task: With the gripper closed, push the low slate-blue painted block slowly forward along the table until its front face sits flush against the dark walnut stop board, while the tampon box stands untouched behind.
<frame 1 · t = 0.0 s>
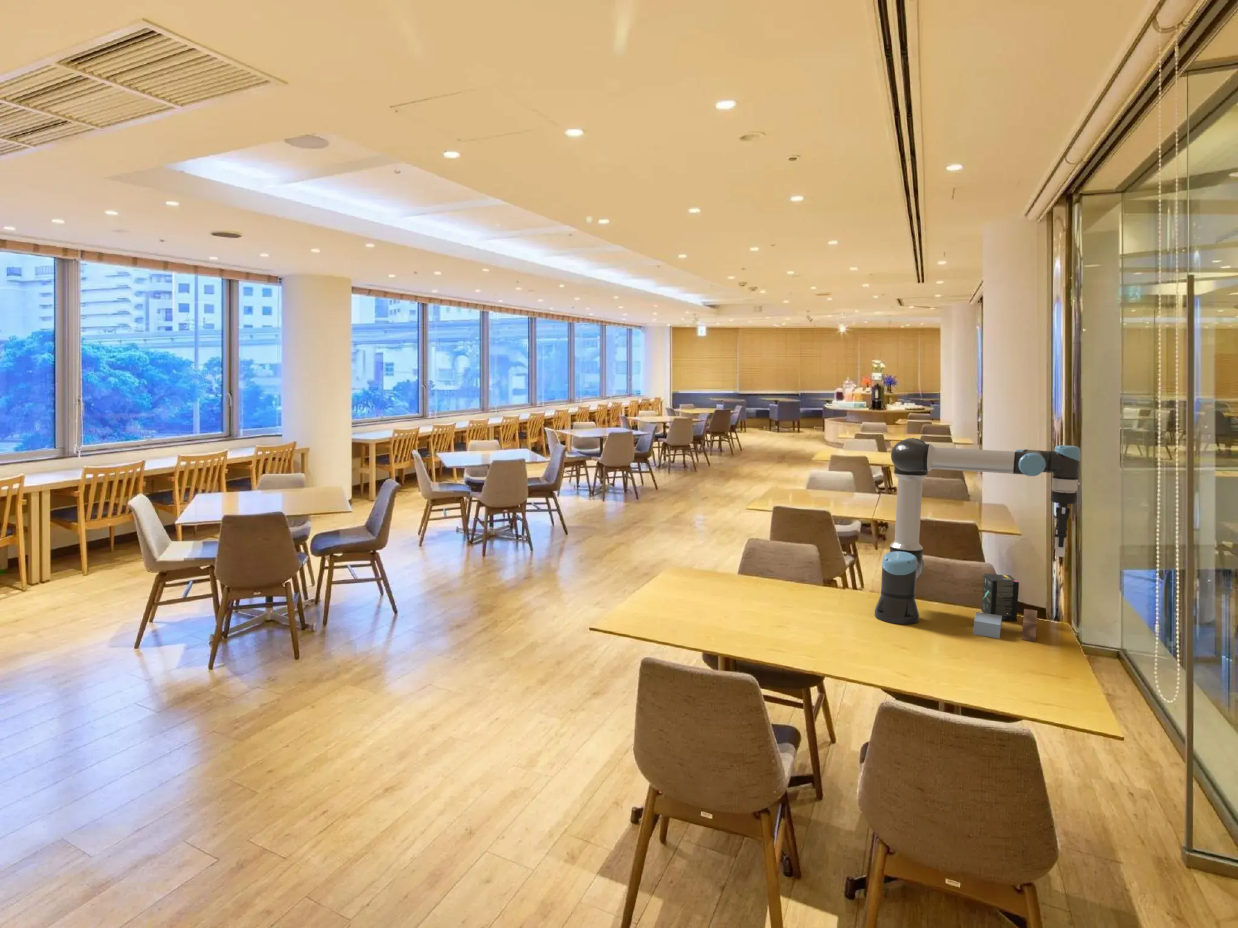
hand: (1059, 552, 250), 28 cm above the table, fingers open, 13 cm apart
block: (987, 632, 252), on the table
tampon box: (998, 616, 270), on the table
walnut board: (1028, 633, 251), on the table
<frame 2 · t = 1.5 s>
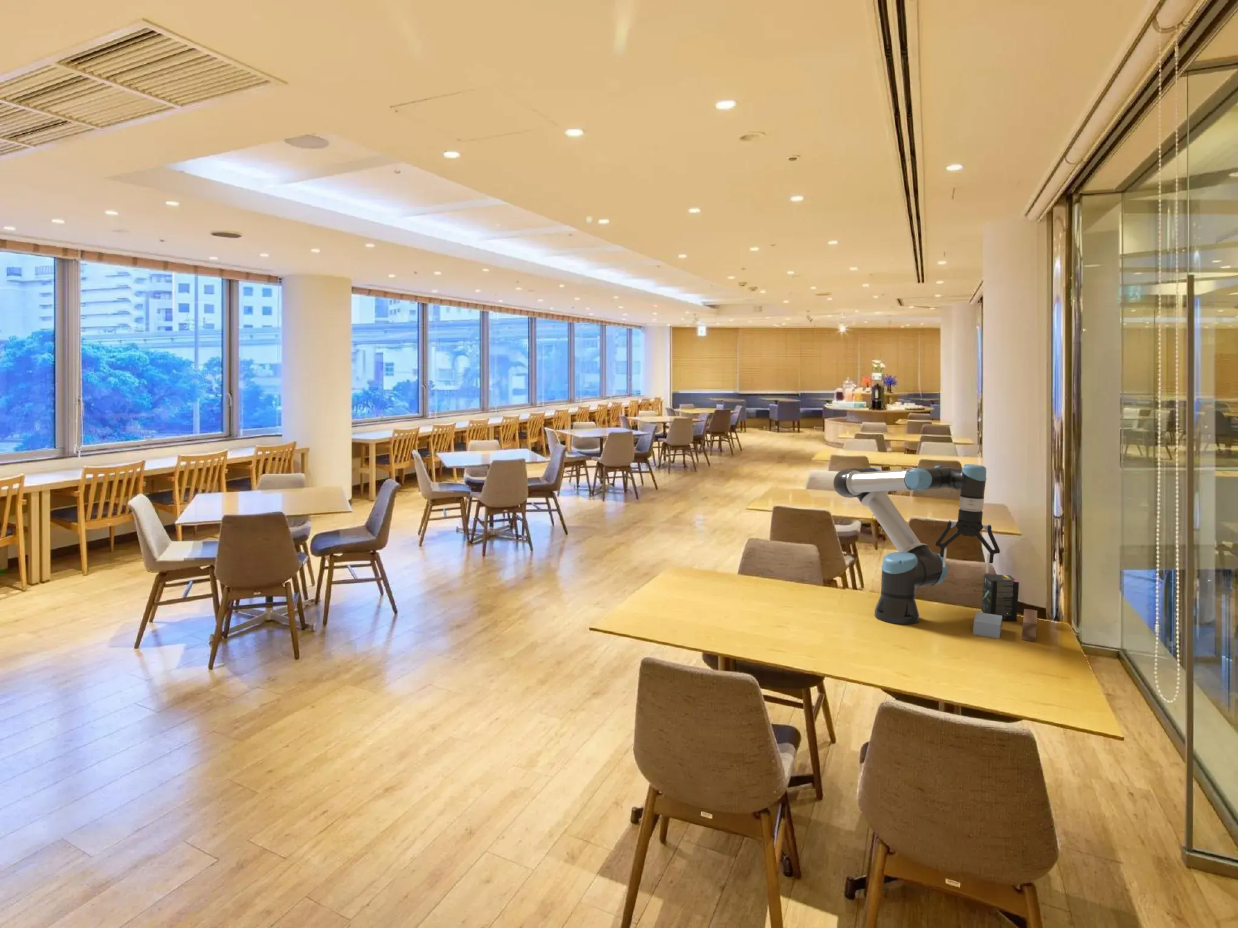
hand: (965, 569, 255), 21 cm above the table, fingers open, 13 cm apart
nothing on the table moved.
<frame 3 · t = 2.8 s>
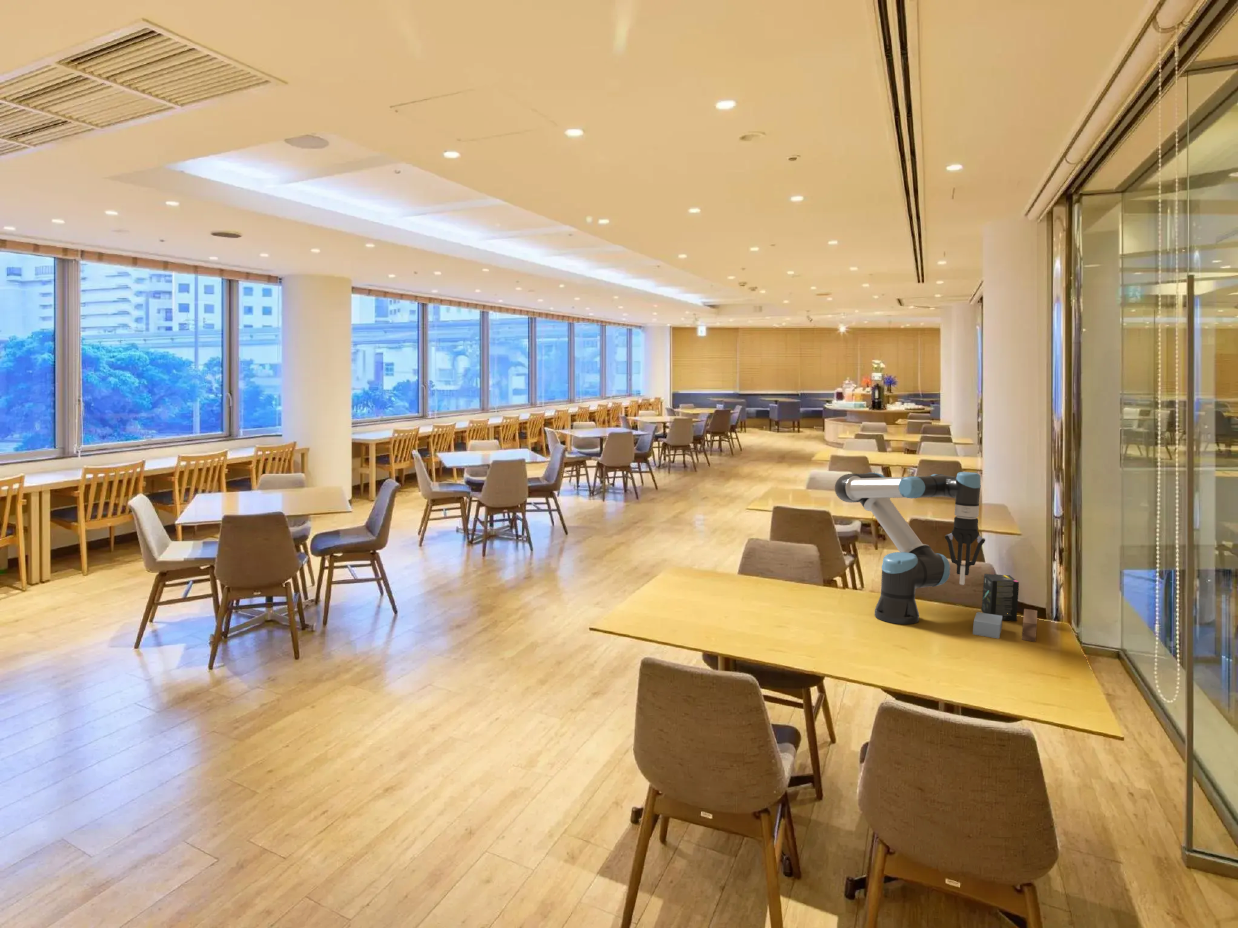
hand: (962, 583, 255), 16 cm above the table, fingers closed
nothing on the table moved.
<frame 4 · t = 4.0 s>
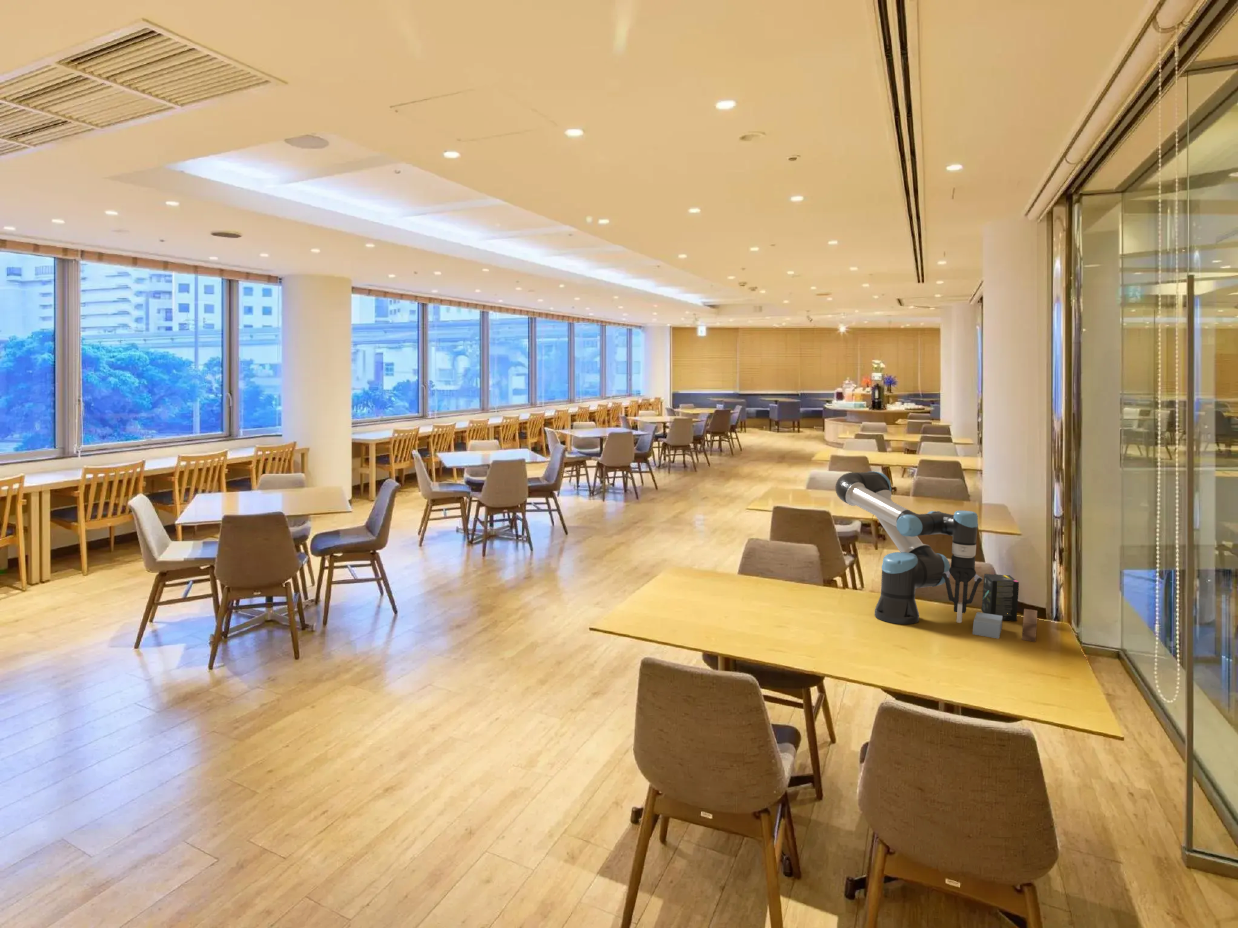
hand: (959, 621, 256), 2 cm above the table, fingers closed
nothing on the table moved.
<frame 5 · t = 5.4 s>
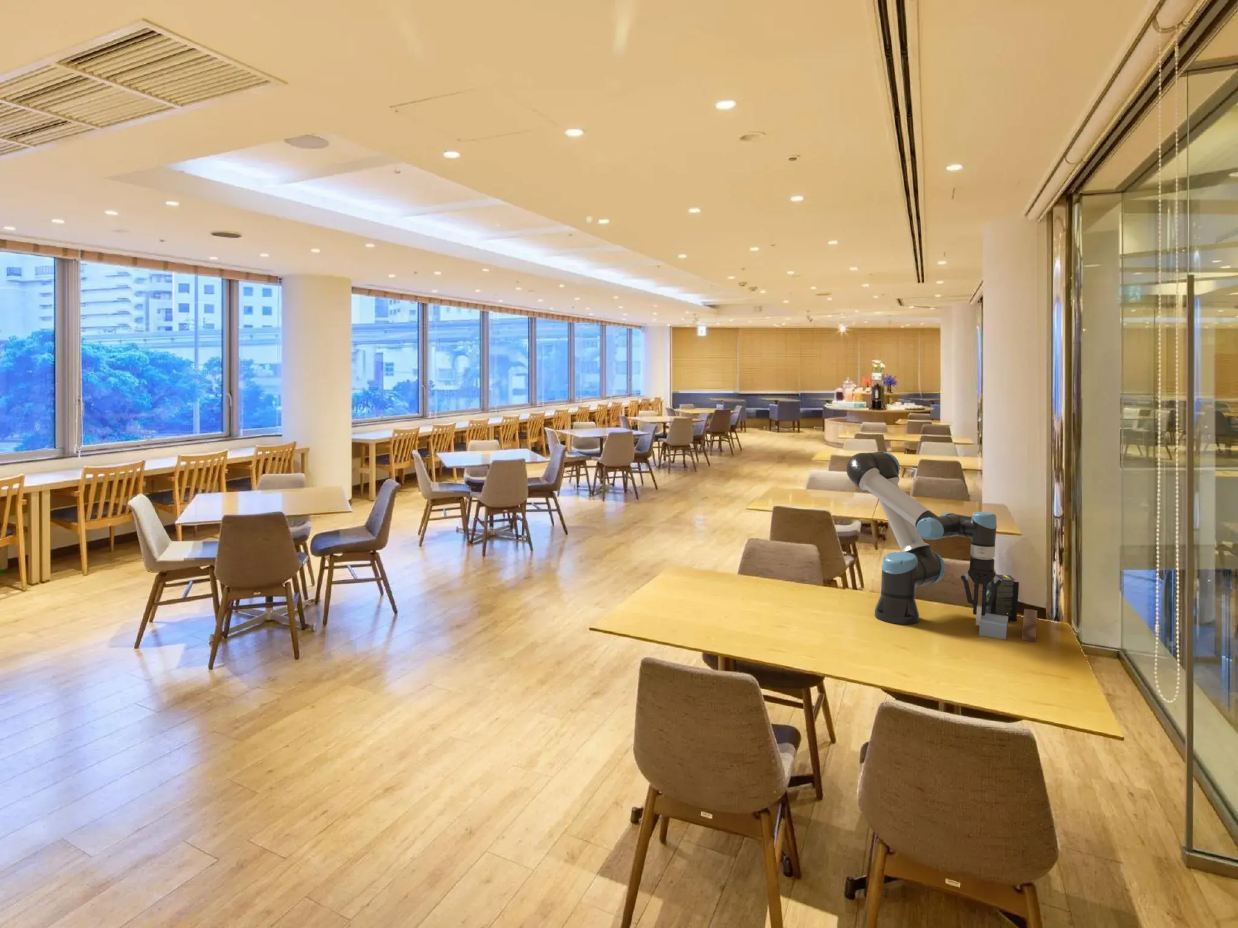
hand: (978, 624, 253), 2 cm above the table, fingers closed
block: (993, 633, 251), on the table, touching gripper
everything else where it was.
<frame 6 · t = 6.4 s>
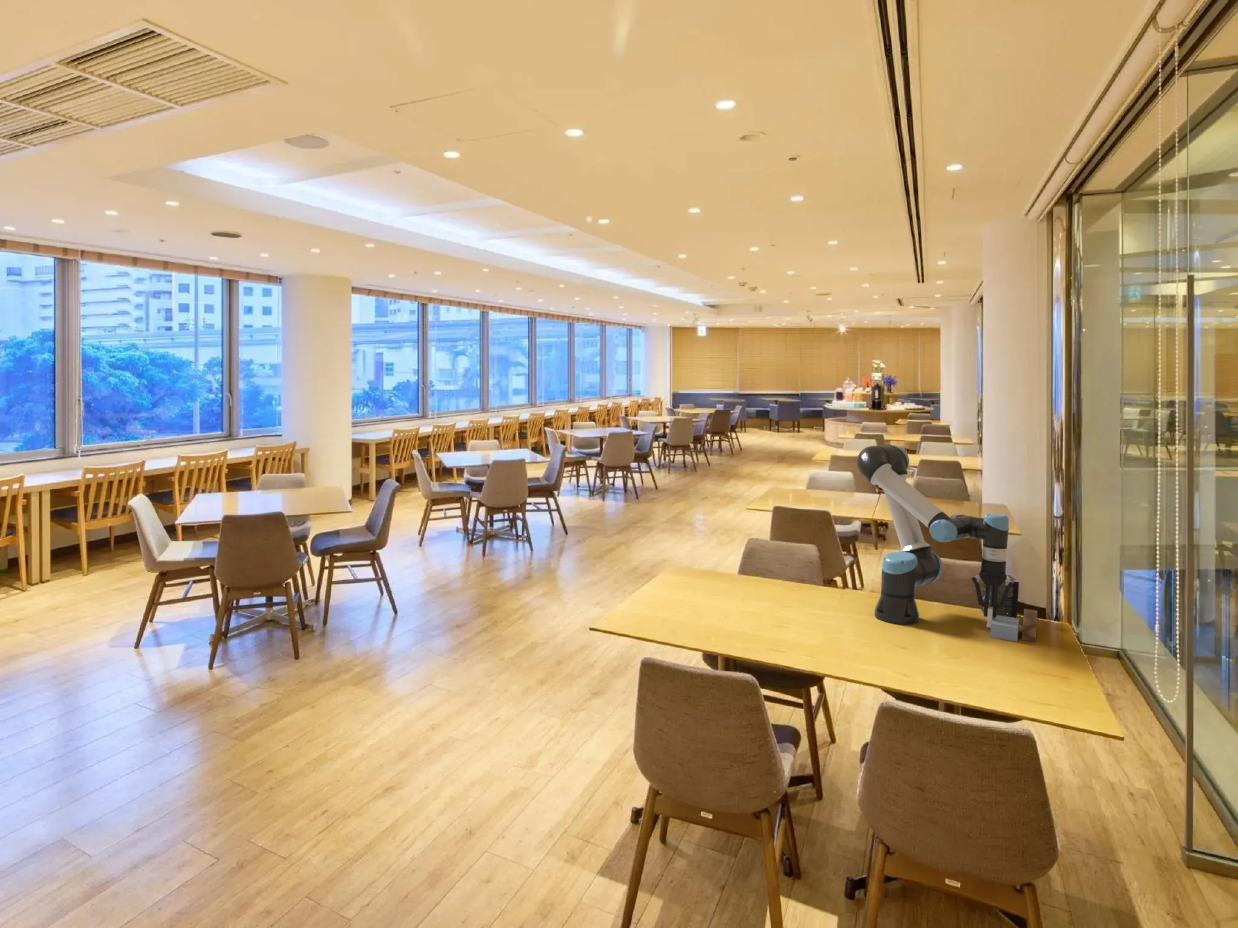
hand: (989, 626, 252), 2 cm above the table, fingers closed
block: (1004, 635, 249), on the table
everything else where it was.
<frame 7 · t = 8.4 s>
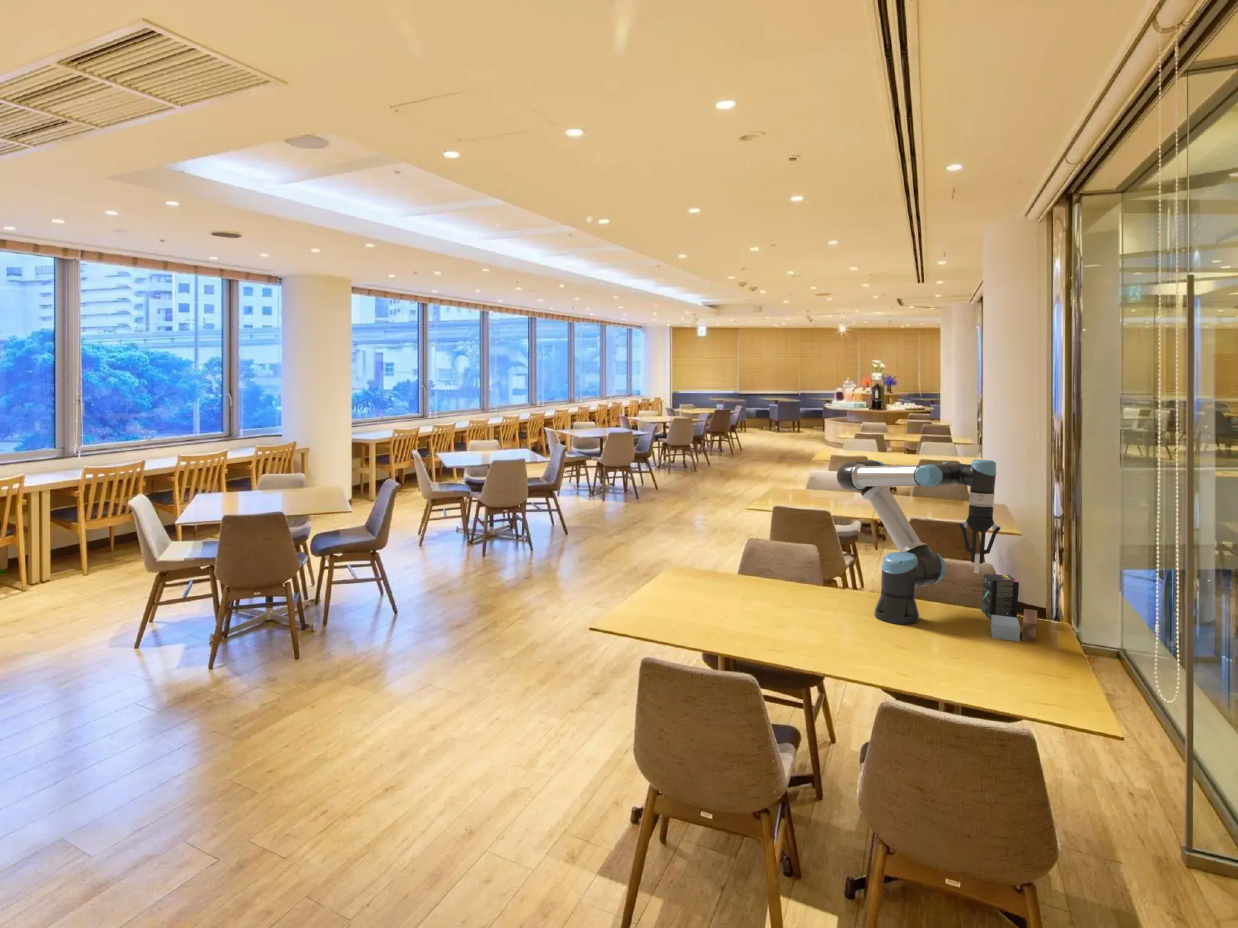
hand: (976, 572, 252), 20 cm above the table, fingers closed
nothing on the table moved.
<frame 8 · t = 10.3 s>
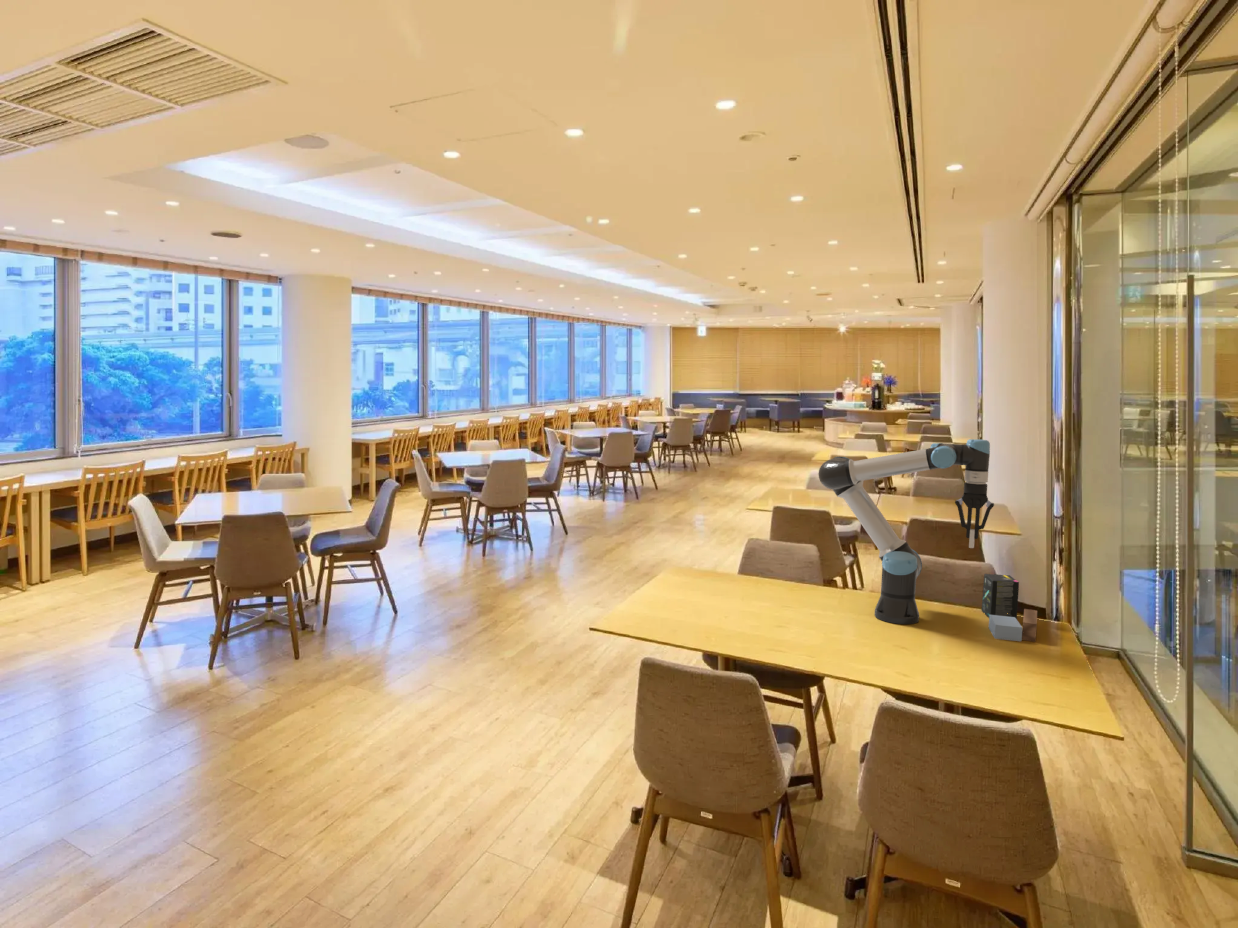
hand: (971, 547, 264), 26 cm above the table, fingers closed
nothing on the table moved.
at the end: block 0.3 cm from the target spot on the table beside the walnut board, on the table; block tilted 0° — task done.
